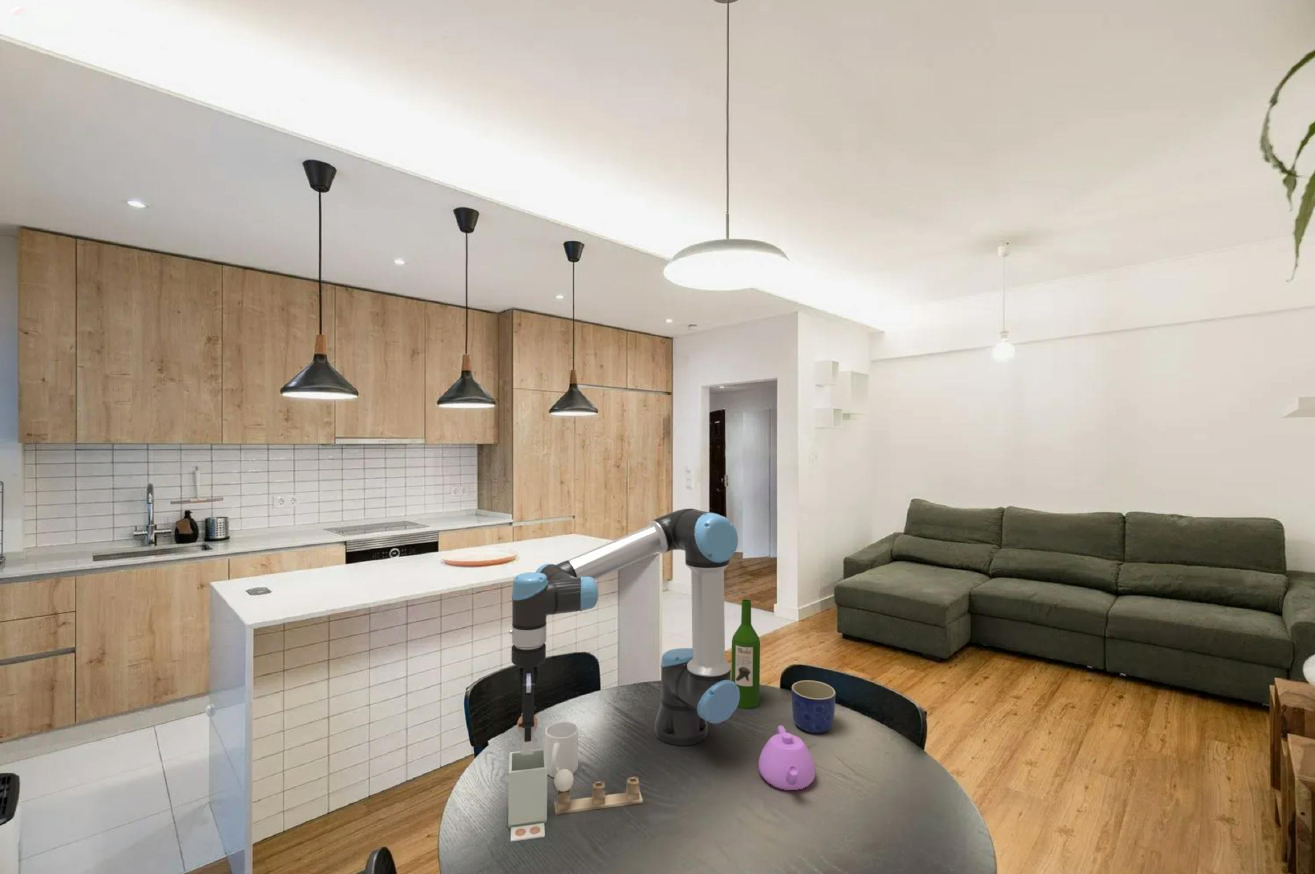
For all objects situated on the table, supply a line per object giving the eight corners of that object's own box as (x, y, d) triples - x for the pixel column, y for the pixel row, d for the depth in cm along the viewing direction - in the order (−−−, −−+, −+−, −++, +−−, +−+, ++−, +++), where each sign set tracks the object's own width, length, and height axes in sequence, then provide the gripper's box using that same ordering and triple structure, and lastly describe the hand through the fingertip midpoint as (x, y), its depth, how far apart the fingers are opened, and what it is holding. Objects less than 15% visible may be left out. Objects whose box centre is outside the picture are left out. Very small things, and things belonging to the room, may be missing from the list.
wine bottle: (730, 707, 181) (731, 603, 181) (731, 694, 190) (732, 595, 190) (759, 710, 180) (760, 605, 179) (759, 697, 189) (760, 597, 188)
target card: (544, 824, 127) (544, 822, 127) (544, 836, 123) (544, 834, 123) (511, 828, 125) (511, 827, 125) (510, 841, 121) (510, 839, 121)
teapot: (764, 803, 135) (765, 758, 135) (754, 755, 155) (754, 715, 155) (824, 806, 134) (825, 760, 134) (806, 757, 154) (807, 717, 154)
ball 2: (572, 782, 135) (572, 763, 135) (574, 794, 131) (574, 774, 131) (553, 785, 134) (553, 766, 134) (554, 796, 130) (554, 777, 130)
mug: (568, 790, 139) (569, 747, 139) (535, 787, 140) (535, 744, 140) (581, 761, 151) (581, 722, 151) (550, 759, 152) (551, 720, 152)
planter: (800, 711, 179) (801, 676, 179) (840, 724, 172) (841, 687, 172) (784, 728, 169) (784, 691, 169) (826, 742, 162) (826, 703, 162)
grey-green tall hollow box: (545, 799, 135) (545, 748, 135) (546, 822, 127) (547, 768, 127) (509, 804, 134) (509, 752, 133) (508, 828, 126) (508, 772, 125)
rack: (639, 793, 138) (639, 774, 138) (642, 802, 135) (642, 783, 135) (554, 804, 134) (554, 785, 134) (555, 814, 130) (555, 795, 130)
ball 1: (537, 727, 133) (537, 708, 133) (537, 737, 129) (537, 717, 128) (517, 729, 132) (517, 710, 132) (517, 739, 128) (517, 719, 128)
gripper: (512, 631, 138) (510, 729, 138) (510, 660, 121) (509, 771, 121) (544, 629, 139) (543, 726, 140) (547, 657, 122) (545, 767, 123)
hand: (527, 747), depth 130 cm, fingers closed on ball 1, 4 cm apart
